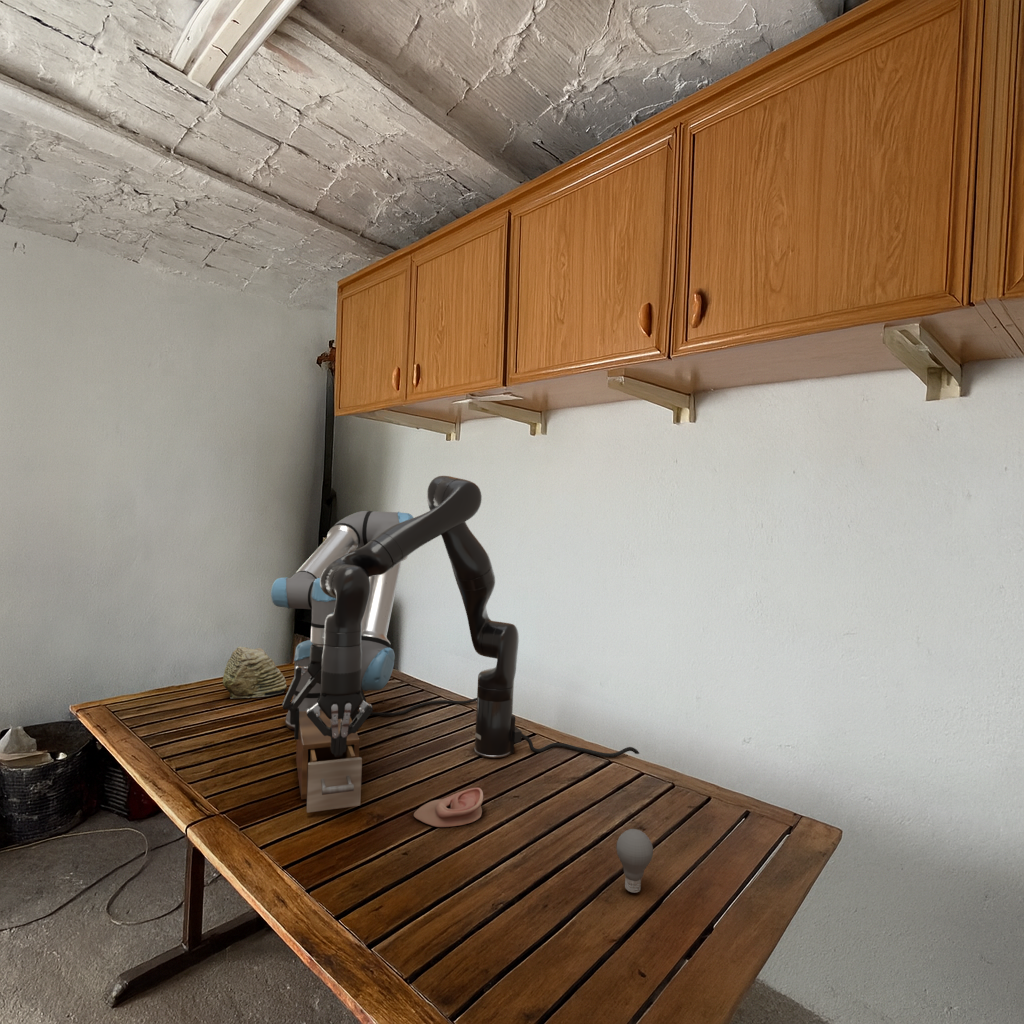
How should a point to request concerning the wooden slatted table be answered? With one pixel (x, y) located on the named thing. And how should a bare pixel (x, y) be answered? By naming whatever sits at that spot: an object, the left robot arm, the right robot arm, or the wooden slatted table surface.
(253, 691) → the fossil
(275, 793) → the wooden slatted table surface
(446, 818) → the anatomical model
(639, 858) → the light bulb
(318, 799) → the drawer
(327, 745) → the cabinet
